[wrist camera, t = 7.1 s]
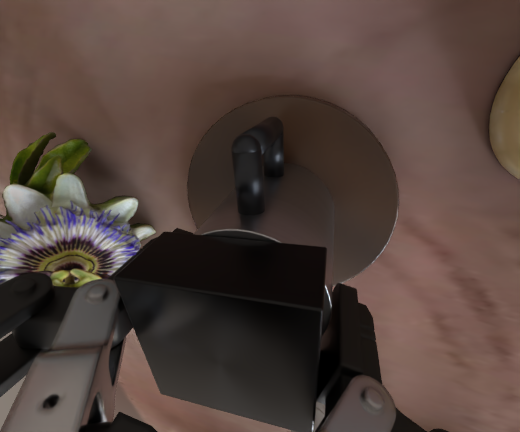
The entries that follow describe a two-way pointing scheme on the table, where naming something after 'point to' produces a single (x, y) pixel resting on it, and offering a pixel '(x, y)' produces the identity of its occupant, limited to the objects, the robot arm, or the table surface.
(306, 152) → the disc
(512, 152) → the hand bell
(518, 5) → the table surface
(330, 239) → the black-lidded handled container
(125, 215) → the passion flower
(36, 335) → the robot arm
